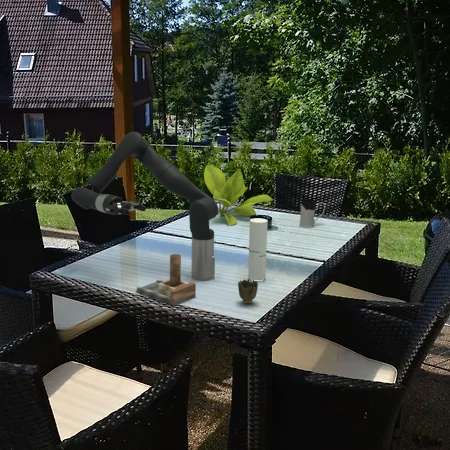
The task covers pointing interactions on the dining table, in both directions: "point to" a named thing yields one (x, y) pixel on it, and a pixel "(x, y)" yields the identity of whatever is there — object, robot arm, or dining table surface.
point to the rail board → (155, 288)
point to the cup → (247, 290)
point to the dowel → (175, 270)
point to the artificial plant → (230, 193)
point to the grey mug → (308, 213)
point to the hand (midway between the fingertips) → (136, 210)
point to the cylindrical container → (257, 249)
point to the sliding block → (167, 287)
